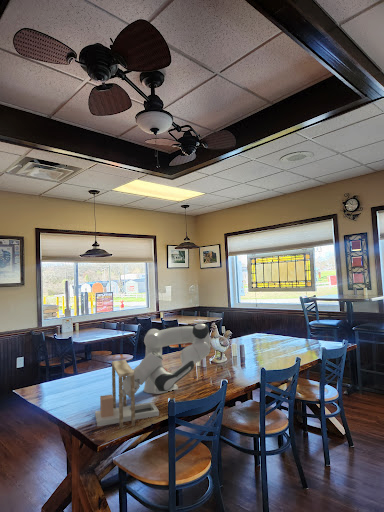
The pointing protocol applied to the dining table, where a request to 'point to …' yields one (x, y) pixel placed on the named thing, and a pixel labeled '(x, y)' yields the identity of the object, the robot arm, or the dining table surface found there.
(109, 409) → the block
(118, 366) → the arch
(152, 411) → the tray
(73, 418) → the dining table surface
